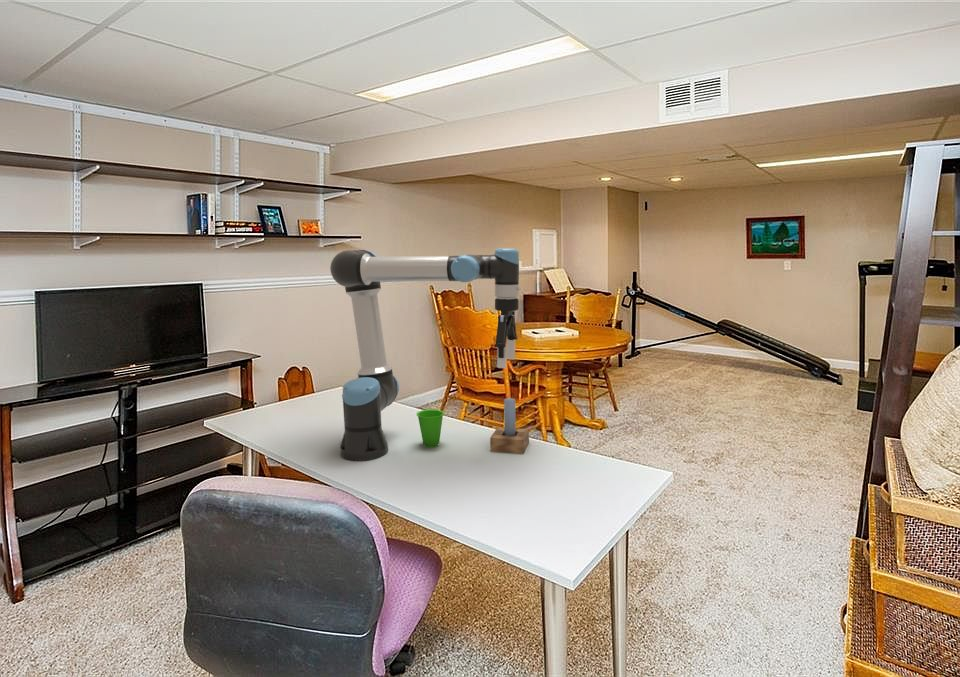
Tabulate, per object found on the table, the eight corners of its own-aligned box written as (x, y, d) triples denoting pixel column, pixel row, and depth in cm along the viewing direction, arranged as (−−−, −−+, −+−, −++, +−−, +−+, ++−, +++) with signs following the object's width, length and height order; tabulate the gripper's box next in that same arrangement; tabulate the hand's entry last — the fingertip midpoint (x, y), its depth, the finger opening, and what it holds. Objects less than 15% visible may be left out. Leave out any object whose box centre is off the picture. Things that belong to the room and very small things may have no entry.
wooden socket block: (490, 451, 179) (490, 437, 178) (497, 439, 189) (497, 427, 188) (523, 453, 176) (523, 440, 176) (528, 442, 187) (528, 429, 186)
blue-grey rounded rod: (503, 448, 181) (503, 400, 179) (505, 444, 185) (505, 397, 182) (514, 449, 180) (514, 401, 178) (516, 445, 184) (516, 398, 181)
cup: (440, 450, 180) (439, 417, 178) (414, 448, 182) (412, 416, 180) (447, 441, 189) (447, 409, 187) (422, 439, 191) (421, 408, 189)
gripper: (510, 301, 163) (509, 372, 166) (525, 294, 187) (524, 356, 190) (485, 301, 165) (485, 371, 168) (503, 294, 189) (503, 355, 192)
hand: (506, 363), depth 179 cm, fingers open, 13 cm apart
